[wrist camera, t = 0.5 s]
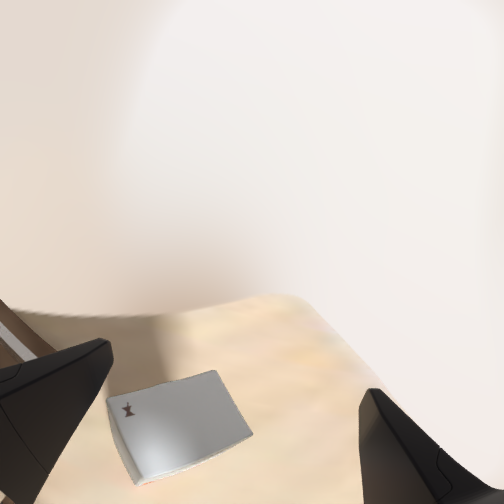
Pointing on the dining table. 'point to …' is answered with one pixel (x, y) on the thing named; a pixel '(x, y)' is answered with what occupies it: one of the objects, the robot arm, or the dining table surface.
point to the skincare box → (174, 426)
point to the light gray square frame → (14, 346)
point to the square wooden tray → (27, 338)
